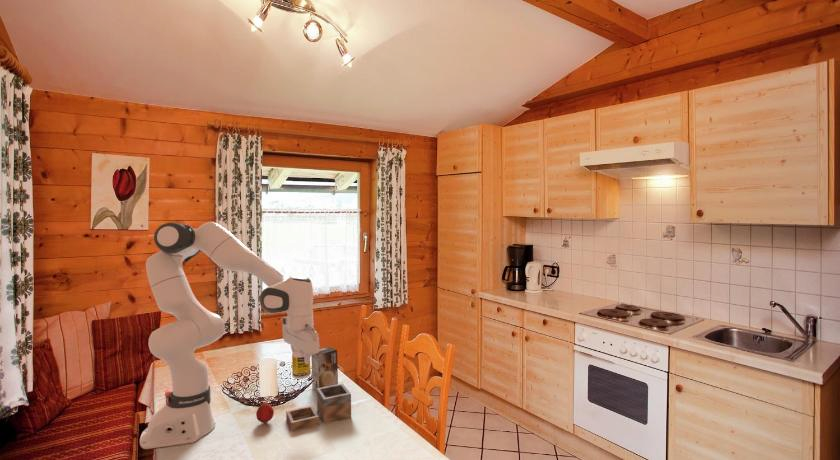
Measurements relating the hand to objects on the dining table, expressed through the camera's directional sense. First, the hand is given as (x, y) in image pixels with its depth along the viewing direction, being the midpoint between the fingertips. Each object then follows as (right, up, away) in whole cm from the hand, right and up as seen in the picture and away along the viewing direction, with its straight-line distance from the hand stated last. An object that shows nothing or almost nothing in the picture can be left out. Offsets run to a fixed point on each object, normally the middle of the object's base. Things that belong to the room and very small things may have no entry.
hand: (301, 360), depth 157 cm
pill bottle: (0, -6, 0) cm, 6 cm away
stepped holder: (+5, -23, +4) cm, 23 cm away
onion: (-13, -23, +1) cm, 26 cm away
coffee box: (+2, -21, +31) cm, 37 cm away
